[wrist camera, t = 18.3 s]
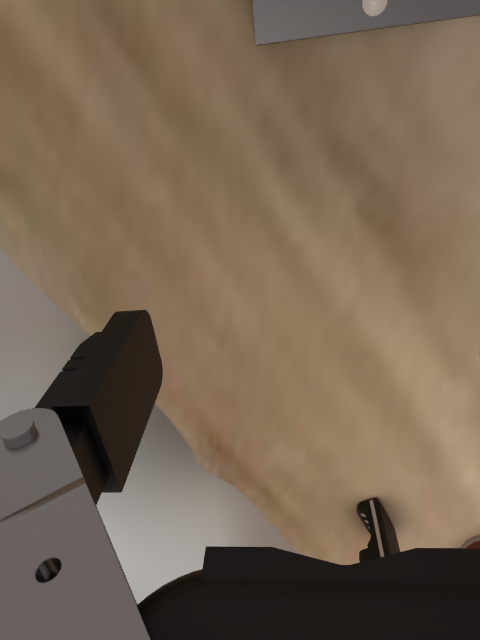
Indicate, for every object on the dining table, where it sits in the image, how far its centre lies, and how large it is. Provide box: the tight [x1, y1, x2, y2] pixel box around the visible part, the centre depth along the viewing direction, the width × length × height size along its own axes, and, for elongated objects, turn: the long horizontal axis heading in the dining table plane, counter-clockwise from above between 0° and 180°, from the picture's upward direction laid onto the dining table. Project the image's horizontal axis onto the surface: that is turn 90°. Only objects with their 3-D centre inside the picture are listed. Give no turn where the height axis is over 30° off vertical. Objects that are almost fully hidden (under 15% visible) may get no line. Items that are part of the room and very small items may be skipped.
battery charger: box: [357, 500, 400, 562], centre depth 52 cm, size 7×4×11 cm, turn 28°
